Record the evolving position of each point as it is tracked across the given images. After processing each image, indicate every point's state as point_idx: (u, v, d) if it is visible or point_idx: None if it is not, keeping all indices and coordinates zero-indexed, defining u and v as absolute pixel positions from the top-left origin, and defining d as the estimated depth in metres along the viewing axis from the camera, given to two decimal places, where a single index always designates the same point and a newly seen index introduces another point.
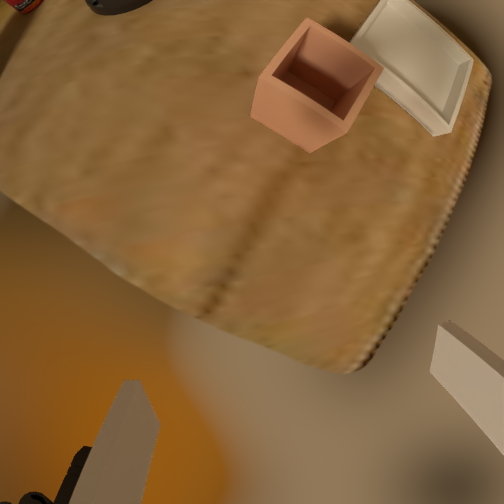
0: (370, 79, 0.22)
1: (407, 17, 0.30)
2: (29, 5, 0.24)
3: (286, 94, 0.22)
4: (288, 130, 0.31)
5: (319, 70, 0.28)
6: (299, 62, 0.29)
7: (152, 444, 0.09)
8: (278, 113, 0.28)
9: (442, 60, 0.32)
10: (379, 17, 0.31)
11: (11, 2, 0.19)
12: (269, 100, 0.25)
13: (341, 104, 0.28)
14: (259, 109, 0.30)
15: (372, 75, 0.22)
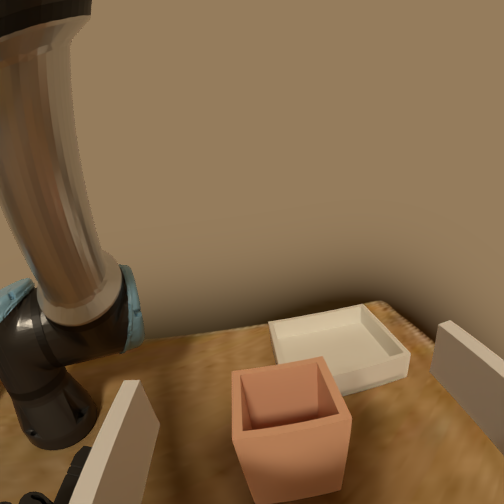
0: (323, 371, 0.24)
1: (299, 333, 0.53)
2: None
3: (271, 437, 0.18)
4: (303, 485, 0.20)
5: (280, 418, 0.28)
6: (259, 427, 0.28)
7: (152, 444, 0.09)
8: (279, 472, 0.19)
9: (349, 332, 0.51)
10: (283, 352, 0.48)
11: None
12: (260, 463, 0.19)
13: None
14: (258, 486, 0.20)
15: (321, 367, 0.25)
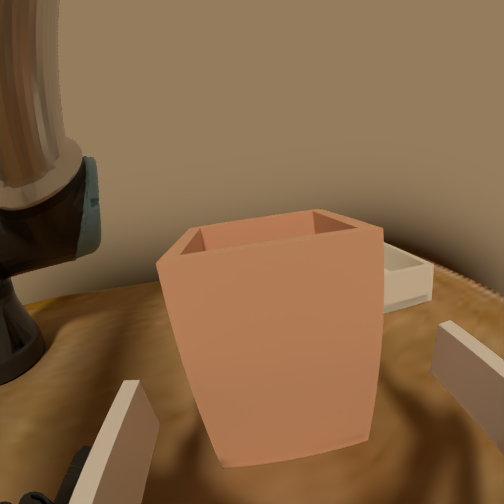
0: (322, 213, 0.17)
1: None
2: None
3: (231, 260, 0.11)
4: (303, 421, 0.13)
5: None
6: None
7: (152, 444, 0.09)
8: (256, 380, 0.12)
9: None
10: None
11: None
12: (216, 346, 0.12)
13: None
14: (220, 418, 0.12)
15: (319, 212, 0.18)
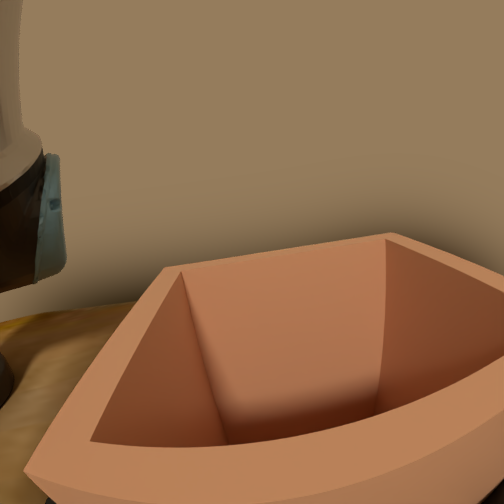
0: (413, 247, 0.08)
1: None
2: None
3: None
4: None
5: (292, 410, 0.11)
6: (241, 430, 0.12)
7: None
8: None
9: None
10: None
11: None
12: None
13: None
14: None
15: (403, 243, 0.09)
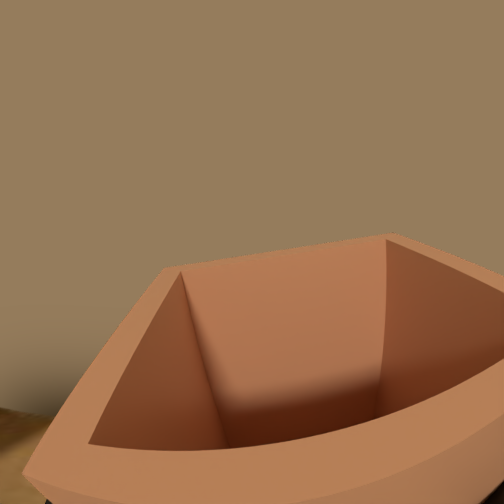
0: (414, 247, 0.08)
1: None
2: None
3: None
4: None
5: (293, 410, 0.11)
6: (241, 431, 0.12)
7: None
8: None
9: None
10: None
11: None
12: None
13: None
14: None
15: (404, 244, 0.09)
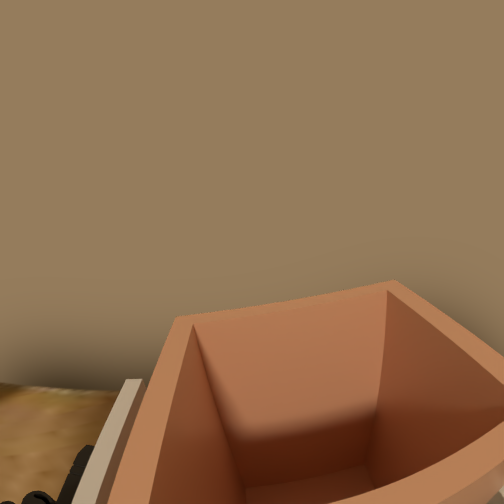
0: (413, 304, 0.09)
1: None
2: None
3: None
4: None
5: (295, 437, 0.12)
6: (247, 454, 0.12)
7: None
8: None
9: None
10: None
11: None
12: None
13: (400, 442, 0.09)
14: None
15: (404, 298, 0.09)
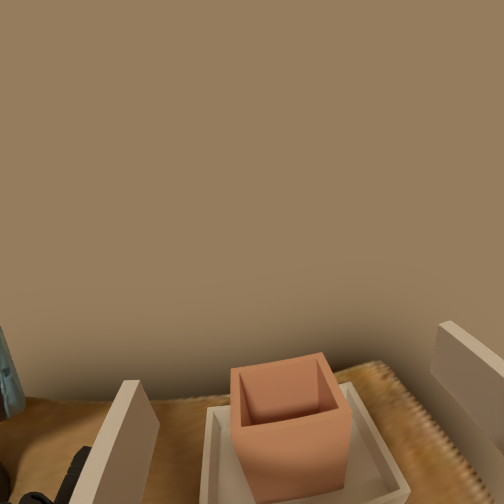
0: (322, 367, 0.24)
1: None
2: None
3: (270, 433, 0.18)
4: (304, 483, 0.20)
5: (281, 416, 0.27)
6: None
7: (152, 444, 0.09)
8: (280, 470, 0.19)
9: None
10: (225, 455, 0.28)
11: None
12: (260, 461, 0.19)
13: None
14: (259, 485, 0.19)
15: (320, 363, 0.25)
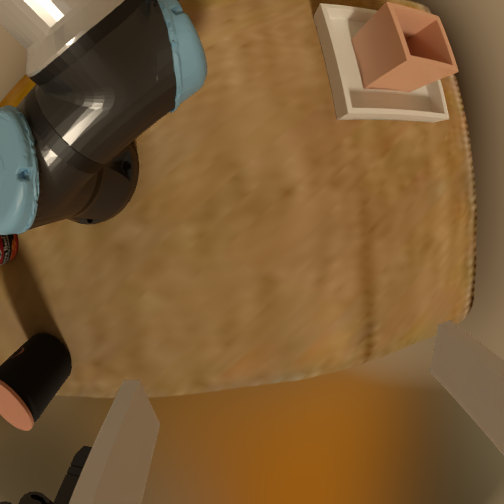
0: (441, 29, 0.22)
1: (348, 19, 0.33)
2: (11, 253, 0.37)
3: (423, 64, 0.24)
4: (401, 84, 0.33)
5: None
6: None
7: (152, 444, 0.09)
8: (402, 76, 0.29)
9: None
10: None
11: None
12: (401, 71, 0.27)
13: (420, 50, 0.28)
14: (382, 79, 0.31)
15: (439, 25, 0.22)
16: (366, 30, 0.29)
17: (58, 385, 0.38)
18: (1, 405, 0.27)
